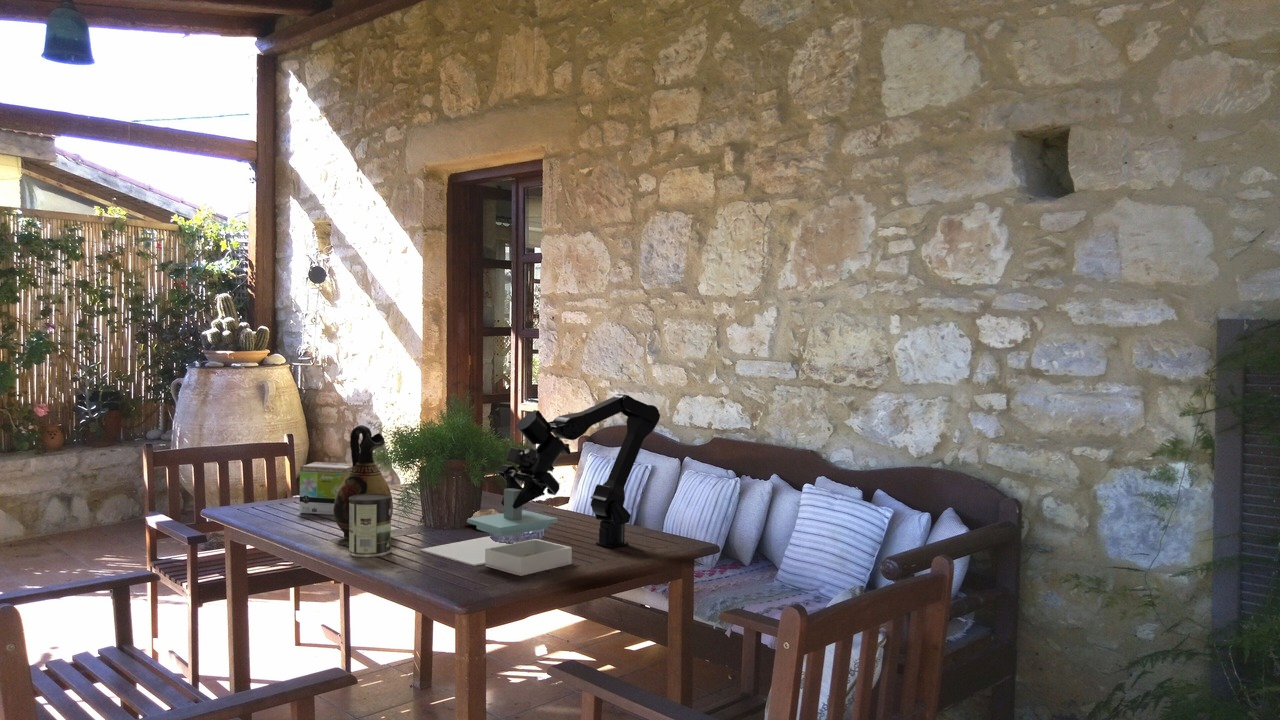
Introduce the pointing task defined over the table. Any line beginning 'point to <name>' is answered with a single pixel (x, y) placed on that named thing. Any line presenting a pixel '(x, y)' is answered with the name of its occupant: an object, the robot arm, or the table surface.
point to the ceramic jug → (360, 475)
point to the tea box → (321, 486)
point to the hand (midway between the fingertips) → (508, 506)
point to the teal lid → (512, 518)
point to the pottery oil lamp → (484, 513)
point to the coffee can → (370, 525)
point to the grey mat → (465, 550)
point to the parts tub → (528, 557)
